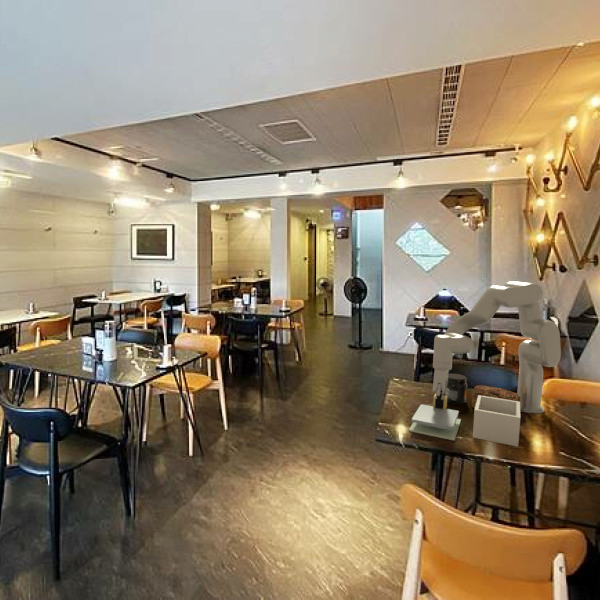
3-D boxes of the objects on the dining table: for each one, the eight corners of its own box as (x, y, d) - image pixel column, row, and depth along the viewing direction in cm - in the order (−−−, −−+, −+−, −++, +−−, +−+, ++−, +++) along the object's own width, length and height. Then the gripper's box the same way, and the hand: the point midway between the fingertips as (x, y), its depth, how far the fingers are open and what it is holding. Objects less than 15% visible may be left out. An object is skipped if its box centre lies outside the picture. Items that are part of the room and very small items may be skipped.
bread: (470, 408, 187) (471, 387, 186) (476, 401, 196) (477, 381, 194) (516, 418, 176) (517, 396, 175) (520, 411, 185) (521, 389, 183)
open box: (476, 420, 173) (478, 395, 172) (517, 427, 166) (519, 401, 165) (472, 437, 157) (474, 409, 156) (518, 446, 150) (520, 417, 149)
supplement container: (468, 399, 198) (469, 375, 196) (464, 406, 189) (465, 381, 187) (445, 395, 203) (446, 371, 202) (440, 402, 194) (441, 377, 193)
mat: (419, 412, 181) (419, 411, 180) (460, 420, 173) (461, 419, 173) (408, 431, 162) (408, 429, 162) (454, 440, 154) (454, 439, 154)
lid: (422, 406, 180) (422, 392, 180) (459, 413, 173) (460, 398, 173) (411, 424, 162) (412, 408, 161) (452, 432, 155) (453, 415, 154)
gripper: (436, 358, 182) (434, 398, 184) (429, 367, 167) (427, 411, 169) (454, 361, 178) (451, 401, 181) (448, 370, 164) (446, 414, 166)
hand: (439, 405), depth 175 cm, fingers closed on lid, 4 cm apart
